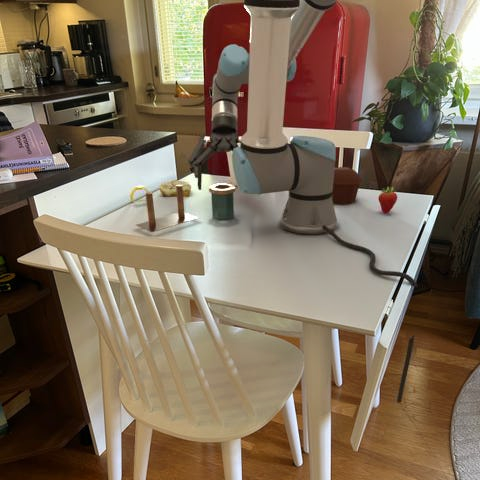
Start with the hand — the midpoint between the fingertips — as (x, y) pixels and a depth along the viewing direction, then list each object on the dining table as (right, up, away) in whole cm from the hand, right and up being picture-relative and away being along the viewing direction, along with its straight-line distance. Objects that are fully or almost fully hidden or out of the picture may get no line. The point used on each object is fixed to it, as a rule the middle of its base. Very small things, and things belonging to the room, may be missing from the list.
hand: (223, 187), depth 135 cm
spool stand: (-16, -11, -1) cm, 19 cm away
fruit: (+48, -6, +6) cm, 49 cm away
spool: (0, -9, +2) cm, 9 cm away
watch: (-27, -1, +17) cm, 32 cm away
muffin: (+37, +1, +18) cm, 41 cm away
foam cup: (+5, +12, +37) cm, 39 cm away
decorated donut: (-17, +5, +26) cm, 32 cm away
